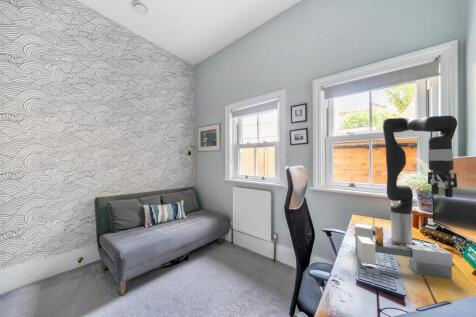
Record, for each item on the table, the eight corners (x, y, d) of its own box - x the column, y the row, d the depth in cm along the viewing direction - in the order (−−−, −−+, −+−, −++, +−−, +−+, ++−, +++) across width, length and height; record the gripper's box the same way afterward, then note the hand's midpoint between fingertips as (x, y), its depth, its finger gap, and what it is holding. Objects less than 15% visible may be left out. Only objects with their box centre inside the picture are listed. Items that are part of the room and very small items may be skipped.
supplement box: (373, 249, 98) (373, 225, 98) (371, 254, 93) (371, 229, 93) (357, 245, 103) (357, 222, 103) (355, 249, 98) (354, 226, 98)
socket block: (357, 257, 90) (357, 236, 90) (369, 259, 88) (369, 237, 88) (362, 265, 82) (362, 242, 82) (375, 268, 80) (375, 244, 81)
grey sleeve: (406, 265, 82) (405, 243, 82) (443, 271, 78) (442, 248, 78) (413, 273, 76) (413, 249, 77) (454, 280, 72) (453, 254, 72)
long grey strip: (364, 248, 87) (363, 224, 87) (417, 255, 80) (417, 230, 80) (366, 250, 84) (365, 227, 84) (422, 258, 77) (421, 232, 77)
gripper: (420, 160, 90) (421, 192, 89) (440, 159, 77) (441, 197, 76) (440, 160, 87) (441, 193, 87) (464, 159, 74) (466, 199, 74)
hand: (441, 195), depth 81 cm, fingers open, 8 cm apart
